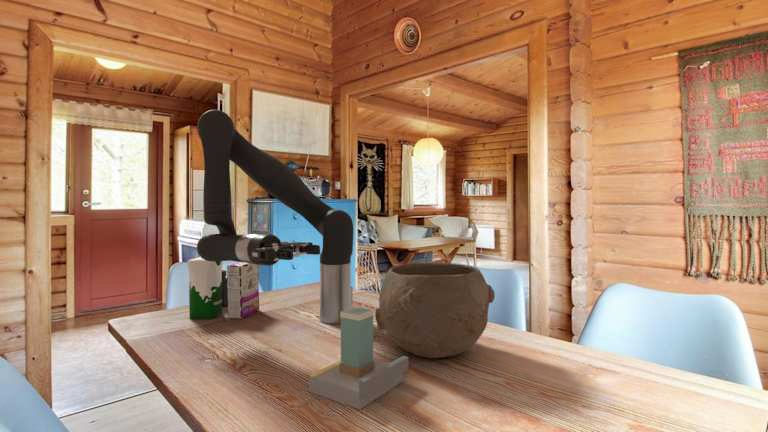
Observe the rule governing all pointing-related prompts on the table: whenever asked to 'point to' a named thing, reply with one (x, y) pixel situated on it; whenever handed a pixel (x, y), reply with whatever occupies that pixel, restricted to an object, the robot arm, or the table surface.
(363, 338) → the teal tall block
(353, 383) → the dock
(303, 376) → the table surface
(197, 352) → the table surface
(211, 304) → the milk carton
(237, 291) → the candy bar box
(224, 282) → the supplement bottle
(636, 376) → the table surface
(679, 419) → the table surface
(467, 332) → the bowl
